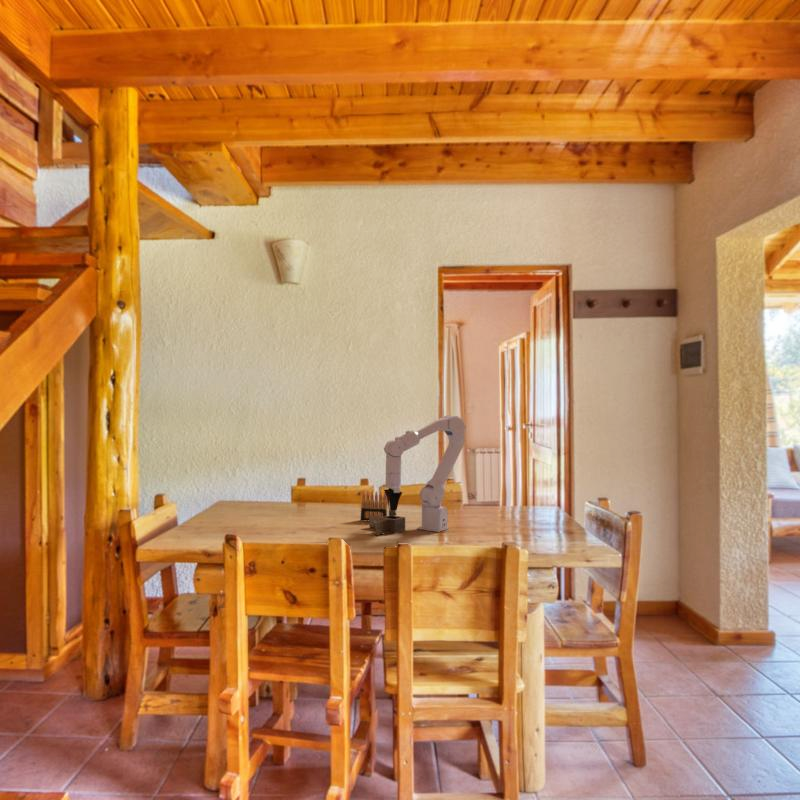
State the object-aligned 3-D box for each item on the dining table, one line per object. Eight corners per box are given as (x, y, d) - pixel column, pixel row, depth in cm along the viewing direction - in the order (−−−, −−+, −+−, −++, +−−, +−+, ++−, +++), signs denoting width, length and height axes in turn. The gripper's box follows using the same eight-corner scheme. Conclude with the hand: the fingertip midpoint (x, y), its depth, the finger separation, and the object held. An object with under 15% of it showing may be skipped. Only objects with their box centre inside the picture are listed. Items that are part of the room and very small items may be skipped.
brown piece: (405, 530, 226) (405, 517, 226) (383, 537, 214) (384, 523, 214) (375, 525, 233) (375, 513, 233) (353, 532, 222) (353, 518, 222)
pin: (397, 514, 225) (397, 493, 225) (393, 515, 223) (393, 494, 223) (391, 513, 227) (391, 492, 227) (387, 515, 224) (387, 493, 224)
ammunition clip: (360, 520, 243) (360, 491, 243) (361, 520, 245) (362, 490, 245) (386, 522, 241) (386, 492, 241) (387, 521, 243) (387, 491, 243)
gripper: (379, 470, 231) (378, 506, 231) (386, 475, 217) (385, 513, 217) (397, 470, 232) (396, 506, 232) (405, 475, 218) (404, 512, 218)
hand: (392, 509), depth 225 cm, fingers closed on pin, 3 cm apart
